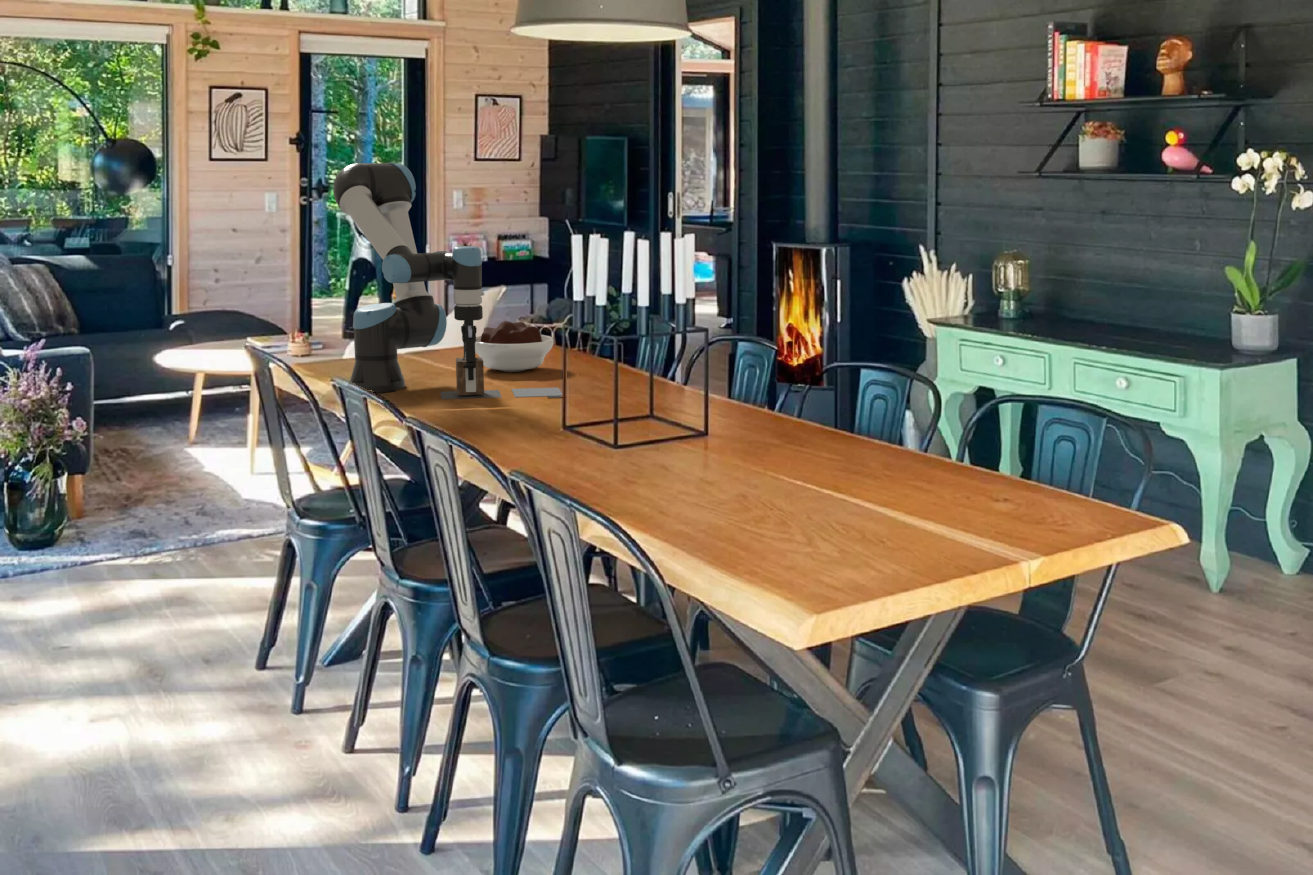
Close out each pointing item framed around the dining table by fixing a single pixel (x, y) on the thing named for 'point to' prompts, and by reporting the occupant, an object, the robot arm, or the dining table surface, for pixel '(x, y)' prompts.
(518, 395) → the slate mat
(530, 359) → the white ceramic bowl
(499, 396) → the post stand
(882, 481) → the dining table surface
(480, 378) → the walnut collar
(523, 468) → the dining table surface
